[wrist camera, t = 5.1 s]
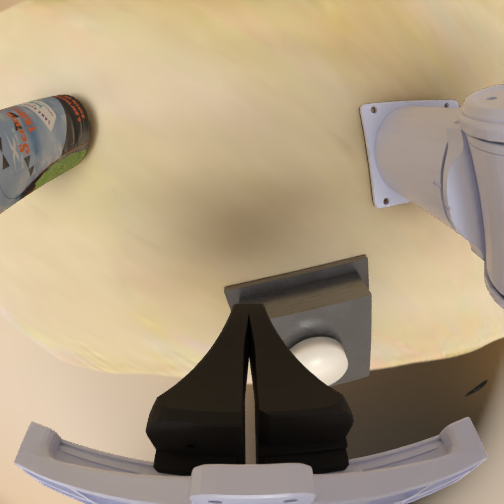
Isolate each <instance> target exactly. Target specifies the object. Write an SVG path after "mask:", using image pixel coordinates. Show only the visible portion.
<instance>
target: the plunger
mask: <svg viewBox="0 0 504 504" xmlns="http://www.w3.org/2000/svg"><path fill="white" fill-rule="evenodd" d="M290 351H291V352H292V353H293V354H294V356H295V357H296V358H297V359H298V360H299V361H300V362H301V363H302V364H303V365H304V366H305V367H306V368H307V369H308V370H309V371H310V372H311V373H313V374H314V375H315V376H316V377H317V378H318V379H320V380H321V381H322V382H324V383H325V384H326V385H328V386H329V385H331V384H333V383H335V382H336V381H337V380H339V379H340V378H341V377H342V376H343V375H344V374H345V372H346V370H347V367H348V360H347V358H346V355H345V352H344V349H343V346H342V345H341V344H340V342H338V341H337V340H335V339H333V338H329V337H313V338H309V339H306V340H303V341H301V342H299V343H297V344H296V345H294V346H293V347H292V348H291V349H290Z"/></svg>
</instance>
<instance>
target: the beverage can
mask: <svg viewBox="0 0 504 504" xmlns="http://www.w3.org/2000/svg"><path fill="white" fill-rule="evenodd" d="M89 141H90V123H89V119H88V115H87V113H86V111H85V109H84V107H83V106H82V104H81V103H80V102H79V101H78V100H77V99H75V98H74V97H72V96H69V95H57V96H52V97H48V98H43V99H39V100H35V101H31V102H27V103H23V104H19V105H16V106H12V107H9V108H5V109H2V110H0V214H1V213H2V212H4V211H5V210H6V209H8V208H9V207H10V206H12V205H13V204H15V203H16V202H18V201H19V200H21V199H22V198H24V197H25V196H27V195H28V194H30V193H31V192H33V191H34V190H36V189H37V188H39V187H41V186H42V185H44V184H45V183H47V182H49V181H50V180H52V179H54V178H55V177H57V176H59V175H61V174H62V173H64V172H66V171H68V170H69V169H71V168H73V167H74V166H76V165H77V164H78V163H79V162H80V161H81V160H82V159H83V157H84V156H85V154H86V152H87V149H88V146H89Z"/></svg>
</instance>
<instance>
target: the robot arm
mask: <svg viewBox="0 0 504 504" xmlns="http://www.w3.org/2000/svg"><path fill="white" fill-rule="evenodd" d="M445 104H446V108H445V106H444V105H445ZM372 107H374V108H375V112H374V113H372V112H371V108H372ZM360 114H361V120H362V125H363V130H364V136H365V142H366V148H367V155H368V162H369V169H370V177H371V185H372V194H373V203H374V205H375V206H376V207H377V208H385V207H390V206H394V205H399V204H404V203H408V202H413V203H414V204H416V205H417V206H419V207H420V208H422V209H423V210H425V211H426V212H428V213H430V214H431V215H432V216H434V217H435V218H437V219H438V220H440V221H441V222H443V223H444V224H446V225H447V226H449V227H450V228H451V229H453V230H454V231H456V232H457V233H458V234H460V235H461V236H462V237H464V238H465V239H466V240H468V241H469V243H470V245H471V250H472V251H473V252H474V253H475V254H476V255H478V256H479V257H480V258H481V259H482V260H484V261H485V262H484V278H485V283H486V287H487V289H488V291H489V293H490V295H491V296H492V298H493V299H494V301H495V302H496V303H497V304H498V305H500V306H501V307H502V308H503V309H504V84H501V85H495V86H491V87H487V88H484V89H481V90H478V91H476V92H473V93H471V94H470V95H468V96H467V97H466V98H465V100H464V102H463V104H462V106H461V107H460V108H459V104H458V102H457V101H456V100H412V101H394V102H381V103H370V104H363V105H362V106H361V107H360ZM385 198H387V202H386V203H384V202H383V201H384V199H385ZM249 359H250V367H251V375H252V382H253V390H254V399H255V434H256V464H253V465H246V463H245V393H246V383H247V373H248V362H249ZM353 422H354V420H353V415H352V412H351V410H350V408H349V405H348V403H347V401H346V399H345V397H344V396H343V395H342V394H340V393H339V392H337V391H336V390H334V389H332V388H331V387H329V386H328V385H326V384H325V383H324V382H322V381H321V380H320V379H318V378H317V377H316V376H315V375H314V374H313V373H311V372H310V371H309V370H308V369H307V368H306V367H305V366H304V365H303V364H302V363H301V362H300V361H299V360H298V359H297V358H296V357H295V356H294V354H293V353H292V352H291V351H290V350H289V348H288V347H287V346H286V344H285V343H284V342H283V340H282V339H281V337H280V336H279V334H278V332H277V331H276V329H275V327H274V326H273V324H272V322H271V320H270V318H269V316H268V314H267V311H266V309H265V306H264V305H263V304H234V305H233V307H232V310H231V313H230V316H229V318H228V320H227V322H226V324H225V326H224V328H223V330H222V332H221V333H220V335H219V337H218V338H217V340H216V341H215V343H214V344H213V346H212V347H211V349H210V350H209V351H208V353H207V354H206V355H205V356H204V358H203V359H202V360H201V361H200V362H199V363H198V364H197V365H196V366H195V368H194V369H193V370H192V371H191V372H190V373H188V374H187V375H186V376H185V377H184V378H183V379H182V380H181V381H179V382H178V383H177V384H176V385H174V386H173V387H172V388H170V389H169V390H168V391H166V392H165V393H164V394H162V395H160V396H159V397H157V399H156V401H155V403H154V405H153V407H152V410H151V412H150V414H149V418H148V422H147V427H146V433H147V436H148V437H149V439H150V441H151V442H152V444H153V445H154V447H155V448H156V454H155V459H154V462H149V461H142V460H138V459H132V458H128V457H123V456H119V455H114V454H110V453H105V452H102V451H99V450H95V449H91V448H88V447H85V446H81V445H78V444H75V443H72V442H69V441H66V440H63V439H61V437H60V436H59V435H58V434H57V433H56V432H55V431H53V430H52V429H50V428H48V427H45V426H43V425H40V424H38V423H35V422H31V424H30V426H29V428H28V430H27V432H26V435H25V437H24V440H23V442H22V444H21V447H20V449H19V451H18V454H17V456H16V459H15V462H14V463H15V465H17V466H18V467H19V468H21V469H22V470H23V471H25V472H26V473H27V474H28V475H30V476H31V477H33V478H34V479H35V480H37V481H38V482H40V483H41V484H43V485H44V486H46V487H48V488H50V489H52V490H55V491H57V492H59V493H62V494H64V495H66V496H68V497H70V498H73V499H75V500H78V501H80V502H83V503H85V504H407V503H410V502H412V501H415V500H417V499H420V498H422V497H424V496H427V495H429V494H431V493H433V492H436V491H438V490H440V489H442V488H444V487H446V486H448V485H450V484H452V483H454V482H456V481H458V480H459V479H461V478H463V477H464V476H465V475H467V474H468V473H469V472H471V471H472V470H473V469H474V468H476V467H477V466H478V465H480V464H481V463H482V462H483V461H484V460H486V459H487V457H488V456H487V454H486V451H485V449H484V447H483V445H482V442H481V440H480V438H479V436H478V434H477V432H476V430H475V428H474V426H473V424H472V422H471V420H470V418H469V417H466V418H464V419H461V420H459V421H457V422H454V423H452V424H450V425H448V426H447V427H446V428H444V429H443V431H442V432H441V433H440V435H437V436H435V437H432V438H429V439H426V440H424V441H420V442H417V443H414V444H411V445H408V446H405V447H401V448H398V449H394V450H390V451H387V452H383V453H378V454H374V455H370V456H366V457H361V458H356V459H351V460H348V456H347V452H346V448H347V441H346V436H347V434H348V433H349V431H350V429H351V427H352V425H353Z"/></svg>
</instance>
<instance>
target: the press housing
mask: <svg viewBox="0 0 504 504" xmlns="http://www.w3.org/2000/svg"><path fill="white" fill-rule="evenodd" d="M224 292H225V295H226V298H227V301H228V303H229V306H230V309H231V310H232V307H233V305H234V304H263V305H264V306H265V309H266V311H267V314H268V316H269V318H270V320H271V322H272V324H273V326H274V327H275V329H276V331H277V332H278V334H279V336H280V337H281V339H282V340H283V342H284V343H285V344H286V346H287V347H288V348H289V350H290V349H291V348H292V347H293V346H294V345H296V344H297V343H299V342H301V341H303V340H306V339H309V338H313V337H329V338H333V339H335V340H337V341H338V342H340V344H341V345H342V346H343V349H344V352H345V355H346V358H347V360H348V367H347V370H346V372H345V374H344V375H343V376H342V377H341V378H340V379H339V380H337V381H336V382H335V383H333V384H331V385H329V387H330V386H334V385H338V384H342V383H346V382H349V381H352V380H356V379H360V378H363V377H367V376H369V369H370V351H371V310H372V305H371V293H370V291H369V279H368V258H367V257H366V255H362V256H358V257H354V258H350V259H346V260H342V261H338V262H334V263H330V264H325V265H321V266H317V267H313V268H308V269H304V270H300V271H296V272H291V273H287V274H283V275H278V276H274V277H269V278H265V279H260V280H256V281H251V282H247V283H242V284H237V285H233V286H228V287H225V288H224Z"/></svg>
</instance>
